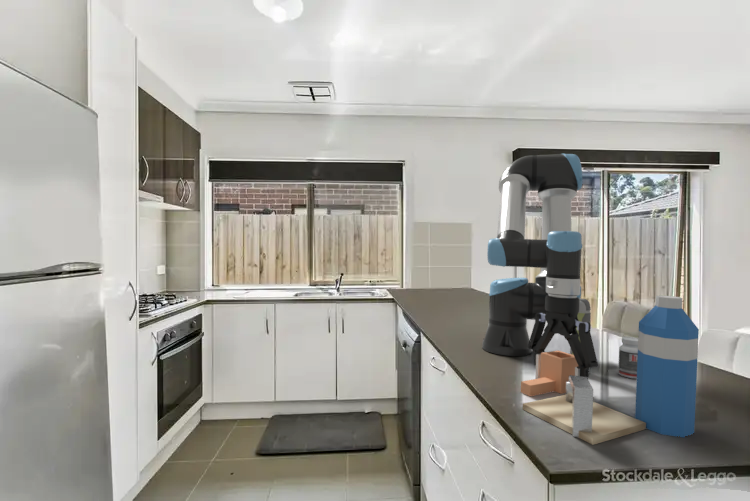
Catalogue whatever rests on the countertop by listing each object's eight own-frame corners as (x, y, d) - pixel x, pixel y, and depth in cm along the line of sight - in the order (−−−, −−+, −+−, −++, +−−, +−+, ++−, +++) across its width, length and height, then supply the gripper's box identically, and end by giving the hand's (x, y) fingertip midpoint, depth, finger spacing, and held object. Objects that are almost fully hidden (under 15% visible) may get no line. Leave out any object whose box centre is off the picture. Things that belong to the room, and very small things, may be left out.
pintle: (562, 399, 87) (563, 375, 87) (570, 398, 88) (571, 374, 88) (572, 403, 85) (573, 379, 85) (580, 402, 86) (581, 377, 86)
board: (522, 409, 85) (522, 403, 85) (572, 398, 91) (572, 393, 91) (592, 444, 70) (593, 437, 70) (645, 429, 77) (646, 422, 77)
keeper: (568, 420, 80) (569, 375, 80) (585, 423, 79) (586, 377, 79) (572, 436, 73) (574, 387, 73) (591, 439, 72) (593, 389, 72)
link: (535, 399, 90) (536, 363, 90) (515, 389, 96) (516, 356, 96) (578, 390, 97) (579, 356, 96) (557, 382, 102) (558, 350, 102)
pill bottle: (647, 380, 105) (648, 342, 105) (623, 378, 106) (624, 340, 106) (637, 373, 111) (639, 337, 110) (614, 371, 112) (616, 335, 112)
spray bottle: (573, 368, 113) (575, 297, 113) (592, 372, 110) (594, 299, 109) (566, 372, 110) (569, 298, 109) (585, 376, 106) (588, 300, 106)
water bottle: (623, 415, 83) (628, 293, 82) (666, 415, 84) (671, 293, 83) (659, 437, 74) (665, 300, 73) (707, 437, 74) (713, 300, 74)
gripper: (514, 290, 106) (512, 374, 107) (596, 303, 85) (592, 407, 86) (535, 289, 109) (532, 370, 110) (619, 301, 89) (615, 402, 89)
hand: (559, 387), depth 98 cm, fingers open, 10 cm apart
